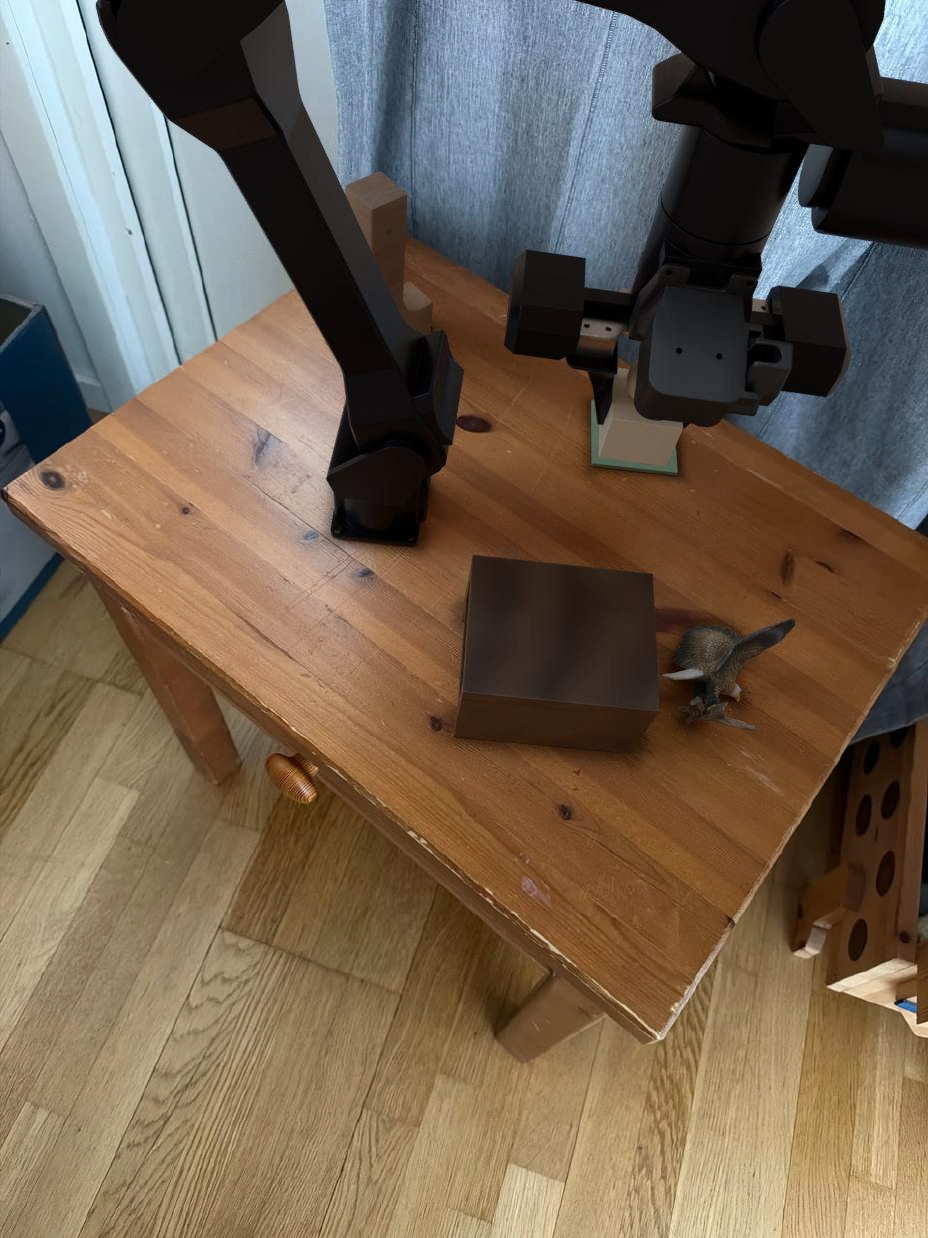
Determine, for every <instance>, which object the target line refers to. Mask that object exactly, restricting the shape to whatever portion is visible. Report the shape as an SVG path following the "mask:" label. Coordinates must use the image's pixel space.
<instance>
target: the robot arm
mask: <svg viewBox="0 0 928 1238" xmlns="http://www.w3.org/2000/svg"><path fill="white" fill-rule="evenodd" d="M573 1H575V2H578V3H581V4H585V5H589V6H591V7H596V8H599V9H603V10H606V11H610V12H614V13H616V14H620V15H624V16H627V17H630V18H631V19H634V20H636V21H638V22H640V23H642V24H643V25H646V26H648V27H649V28H652V29H653V30H655V31H656V32H657V33H658V34H660V35H661V36H662V38H665V40H667V41H668V42H669V43H670V44H672V45H673V47H675V48H676V49H677V50H679V51H680V52H679V53H676V54H672V55H671V56H669V57H667V58H665V59H664V60H661V61H659V62H658V63H656V64H655V65H654V67H653V68H652V70H651V116H652V119H654V120H655V121H657V122H662V123H669V124H674V125H675V124H676V125H681V129H680V132H679V135H678V138H677V142H676V145H675V148H674V151H673V155H672V158H671V161H670V164H669V168H668V171H667V174H666V177H665V180H664V183H662V186H661V189H660V192H659V196H658V198H657V207H656V209H655V212H654V216H653V219H652V222H651V225H650V229H649V232H648V235H647V237H646V242H645V244H644V248H643V250H642V251H641V252H640V253H641V254H640V257H639V260H638V263H637V268H636V269H637V270H636V274H635V277H634V280H633V283H632V286H631V288H627V287H621V288H620V289H619V291H618V290H617V291H616V290H609V289H602V288H594V287H587V286H586V268H587V267H586V266H587V258H586V257H583V256H575V255H568V254H562V253H554V252H548V251H540V250H532V249H525V250H524V251H523V252H522V253H520V254H519V255H518V256H516V258H515V259H514V260H513V266H512V271H511V277H510V284H509V294H508V302H507V313H506V322H505V333H504V342H503V346H504V347H505V348H506V349H507V350H508V351H509V352H511V353H512V354H513V355H518V356H526V357H533V358H537V359H539V358H540V359H546V360H554V361H561V360H563V359H565V362H566V365H567V366H568V367H569V368H570V369H572V370H576V371H583V372H586V373H587V375H588V379H589V381H590V384H591V388H592V394H593V399H594V402H595V410H596V417H597V424H598V425H603V424H604V422H605V419H606V417H607V414H608V412H609V408H610V401H611V395H612V389H613V383H614V377H615V375H617V373H618V368H619V367H618V365H619V364H618V361H619V338H621V337H628V340H629V341H630V340H631V341H636V342H637V341H638V342H640V344H639V347H638V348H639V349H638V357H637V359H638V368H637V378H636V388H635V392H634V406H635V408H636V410H637V412H638V413H639V414H640V415H641V416H642V417H644V418H646V419H649V420H655V421H661V420H667V421H674V422H682V423H683V430H685V429H686V428H687V427H689V426H690V425H695V426H696V427H700V428H711V427H712V428H713V427H715V426H717V425H719V424H720V423H721V421H723V419H724V418H725V417H726V416H727V415H728V414H731V415H732V414H733V415H739V416H747V417H755V416H756V415H757V414H758V411H759V408H760V406H762V407H769V406H770V405H771V404H773V402H774V401H775V400H776V399H777V398H778V397H779V396H780V393H781V392H786V393H792V394H799V395H807V396H814V397H821V398H822V397H823V398H827V397H829V396H831V395H832V394H833V393H835V392H836V390H837V388H838V387H839V385H840V384H841V382H842V381H843V379H844V377H845V375H846V374H847V372H848V371H849V368H850V362H851V360H852V359H851V358H852V350H851V344H850V340H849V331H848V327H847V321H846V316H845V311H844V305H843V303H842V301H841V298H840V297H839V295H838V293H836V292H829V291H823V290H815V289H809V288H801V287H800V288H799V287H793V286H788V285H779V284H777V285H775V286H772V287H770V289H769V292H768V294H767V296H766V298H765V299H761V298H754V294H755V292H756V290H757V288H758V286H759V279H760V276H761V274H762V272H763V270H764V269H763V261H762V254H763V252H764V250H765V247H766V245H767V243H768V241H769V238H770V236H771V233H772V231H773V229H774V227H775V225H776V222H777V220H778V217H779V215H780V214H781V211H782V209H783V207H784V205H785V202H786V199H787V198H788V195H789V193H790V191H791V189H792V186H793V184H794V182H795V179H796V178H797V175H798V173H799V170H800V168H801V170H800V173H799V178H798V187H797V202H798V205H799V207H801V208H807V209H810V220H811V226H812V228H813V231H814V232H815V233H817V234H821V235H827V236H833V237H839V238H845V239H851V240H858V241H864V242H870V243H877V244H884V245H889V246H890V245H891V246H897V247H904V248H909V249H914V250H915V249H916V250H922V251H928V83H925V82H919V81H913V80H906V79H900V78H895V77H888V76H882V75H881V73H880V67H879V63H878V58H877V53H876V50H875V45H874V44H875V42H876V39H877V37H878V34H879V31H880V30H881V27H882V24H883V22H884V20H885V13H886V3H887V0H573ZM95 11H96V14H97V18H98V19H97V20H98V23H99V25H100V28H101V31H102V32H103V34H104V37H105V39H106V41H107V43H108V45H109V47H110V48H111V49H112V51H113V52H114V54H115V55H116V56H117V58H118V59H119V60H120V62H121V63H122V64H123V65H124V67H125V68H126V70H128V72H129V73H130V74H131V76H132V77H133V78H134V80H135V81H136V82H137V84H138V85H139V86H140V87H141V88H142V90H143V91H144V92H145V94H146V95H147V96H148V97H149V99H150V100H151V101H152V102H153V104H154V105H155V106H156V107H157V109H158V110H159V111H160V113H161V114H162V115H163V116H164V117H165V119H167V120H168V121H169V122H171V123H172V124H174V125H175V126H177V127H178V128H180V129H181V130H183V131H184V132H186V133H187V134H189V135H191V136H192V137H193V138H195V139H197V140H198V142H201V143H202V144H204V145H206V146H207V147H208V148H210V149H211V150H212V151H214V152H215V153H216V155H217V156H218V157H219V159H221V161H222V162H223V164H224V166H225V168H226V169H227V171H228V173H229V175H230V176H231V178H232V180H233V182H234V183H235V185H236V187H237V189H238V191H239V192H240V194H241V196H242V197H243V199H244V201H245V203H246V204H247V206H248V209H249V210H250V212H251V213H252V215H253V217H254V219H255V221H256V222H257V223H258V226H259V228H261V231H262V232H263V234H264V236H265V238H266V239H267V242H268V243H269V245H270V247H271V249H272V250H273V252H274V254H275V255H276V257H277V259H278V261H279V263H280V264H281V266H282V268H283V270H284V271H285V273H286V275H287V276H288V278H289V280H290V282H291V284H292V286H293V287H294V289H295V291H296V293H297V294H298V296H299V298H300V300H301V301H302V303H303V305H304V307H305V309H306V310H307V312H308V314H309V315H310V317H311V319H312V320H313V322H314V325H315V326H316V328H317V329H318V331H319V334H320V335H321V337H322V338H323V340H324V342H325V344H326V345H327V347H328V349H329V351H330V352H331V354H332V356H333V358H334V359H335V361H336V363H337V365H338V367H339V369H340V371H341V374H342V379H343V386H344V387H343V388H344V394H345V395H344V396H345V401H344V404H343V409H342V412H341V417H340V421H339V425H338V427H337V429H338V430H337V433H336V437H335V441H334V445H333V448H332V453H331V457H330V460H329V465H328V468H327V473H326V478H325V480H326V482H327V484H328V486H329V487H330V489H331V491H332V492H333V505H334V506H333V513H332V518H331V524H330V536H331V537H332V538H334V539H337V540H338V539H339V540H347V541H356V542H365V543H375V544H382V545H383V544H385V545H395V546H402V547H403V546H404V547H415V546H417V545H418V542H419V535H420V525H421V523H425V522H426V521H427V517H428V508H429V501H430V500H429V499H430V490H431V489H430V488H431V479H432V477H433V476H434V475H436V474H437V473H439V472H441V470H442V469H443V468H444V467H446V465H447V463H448V462H447V461H448V455H449V449H450V447H451V446H452V445H453V444H454V438H455V430H456V425H457V418H458V412H459V406H460V401H461V394H462V387H463V382H464V374H465V368H464V367H462V366H461V365H460V364H459V363H458V362H457V361H456V359H455V357H454V355H453V354H452V351H451V347H450V344H449V343H450V342H449V337H448V334H447V332H446V331H445V330H444V329H440V330H438V331H434V332H431V334H428V335H424V334H423V333H421V332H419V331H417V330H416V329H414V328H412V327H411V326H409V325H407V323H406V322H405V321H404V319H403V317H402V315H401V313H400V311H399V309H398V307H397V305H396V302H395V300H394V298H393V296H392V294H391V292H390V290H389V287H388V285H387V283H386V281H385V279H384V277H383V274H382V272H381V270H380V268H379V266H378V264H377V262H376V259H375V257H374V255H373V253H372V251H371V249H370V246H369V244H368V242H367V240H366V238H365V236H364V234H363V231H362V229H361V227H360V225H359V223H358V221H357V218H356V216H355V214H354V212H353V210H352V208H351V205H350V203H349V201H348V199H347V197H346V195H345V189H343V187H342V184H341V182H340V180H339V177H338V175H337V173H336V171H335V169H334V167H333V165H332V163H331V160H330V158H329V155H328V154H327V152H326V150H325V148H324V145H323V143H322V140H321V139H320V137H319V134H318V132H317V130H316V127H315V126H314V124H313V122H312V118H311V117H310V115H309V113H308V110H307V109H306V106H305V105H304V101H303V98H302V95H301V92H300V87H299V80H298V73H297V65H296V56H295V50H294V42H293V33H292V27H291V19H290V13H289V9H288V5H287V2H286V0H96V1H95ZM336 531H338V532H336ZM410 539H412V540H410Z"/></svg>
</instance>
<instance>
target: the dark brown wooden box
mask: <svg viewBox="0 0 928 1238" xmlns="http://www.w3.org/2000/svg"><path fill="white" fill-rule="evenodd" d="M468 573H469V574H468V579H467V584H466V590H465V595H464V596H465V597H464V600H463V605H462V617H461V623H463V625H462V627H463V628H462V637H461V638H462V640H461V652H460V654H461V655H460V666H459V667H460V668H459V679H458V691H457V692H458V694H457V708H456V713H455V717H454V721H453V723H454V724H453V735H452V736H453V737H454V738H463V739H474V740H484V741H494V742H505V743H506V742H507V743H516V744H526V745H535V746H536V745H537V746H548V747H555V748H556V747H557V748H566V749H567V748H568V749H579V750H588V751H598V752H608V753H609V752H610V753H620V754H632V752H633V751H634V749H635V748H636V747H637V745H638V744H639V742H640V741H641V740H642V738H643V737H644V735H645V734H646V732H647V731H648V729H649V728H650V726H651V725H652V724H653V722H654V721H655V719H656V718H657V716H658V715H659V714H660V712H661V706H660V705H661V704H660V683H659V667H658V666H659V665H658V645H657V626H656V625H657V624H656V607H655V606H656V605H655V585H654V574H653V573H650V572H641V571H631V570H623V569H622V570H621V569H614V568H604V567H595V566H584V565H574V564H573V565H572V564H567V563H565V564H564V563H556V562H546V561H537V560H528V559H519V558H508V557H501V556H500V557H499V556H491V555H483V554H482V555H480V554H472V557H471V562H470V568H469V572H468Z"/></svg>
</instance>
